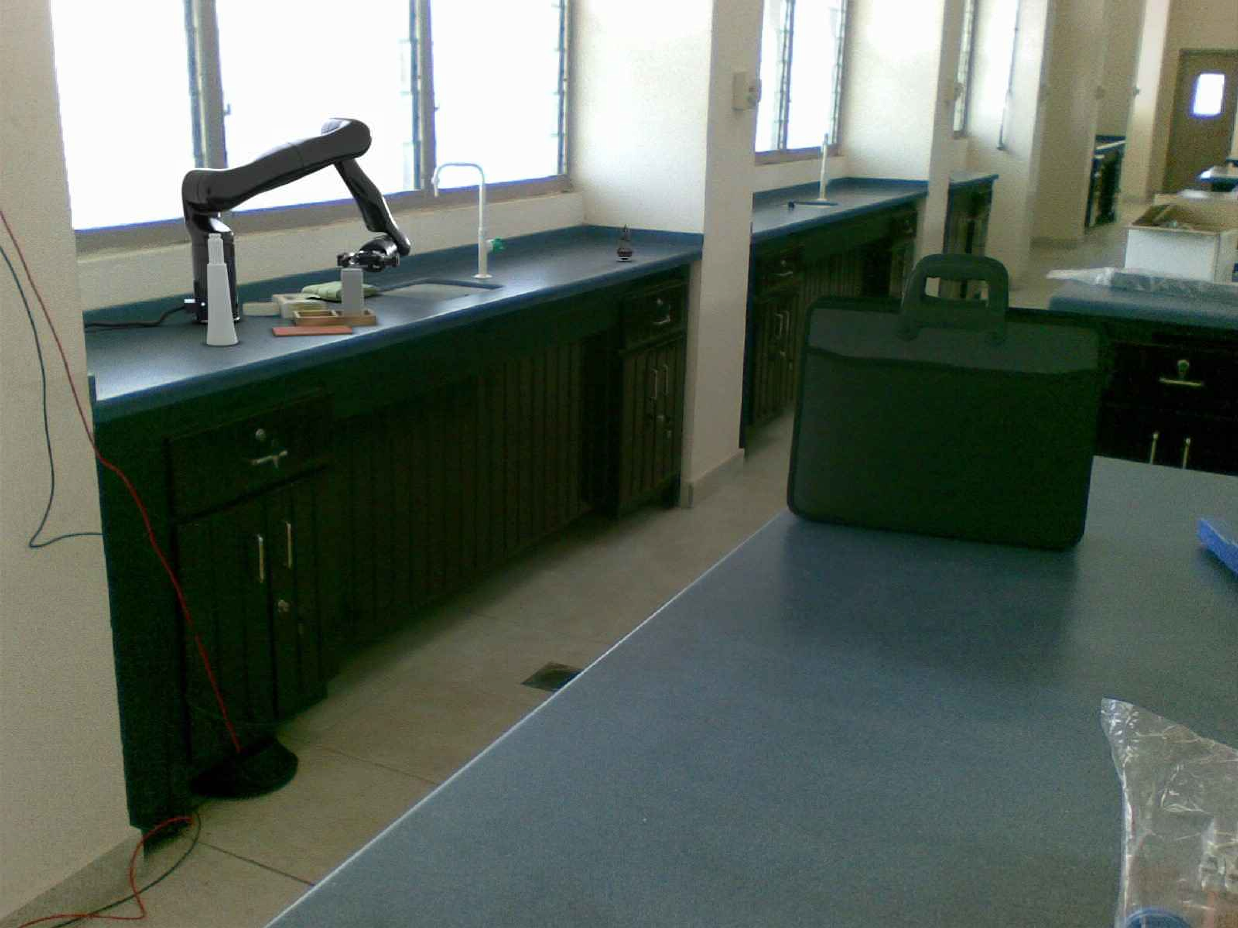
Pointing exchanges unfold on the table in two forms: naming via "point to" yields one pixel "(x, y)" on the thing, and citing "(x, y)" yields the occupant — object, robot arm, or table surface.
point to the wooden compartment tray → (333, 318)
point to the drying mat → (312, 330)
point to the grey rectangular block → (352, 291)
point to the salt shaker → (625, 244)
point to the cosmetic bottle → (218, 297)
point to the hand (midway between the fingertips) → (362, 263)
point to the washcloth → (335, 290)
